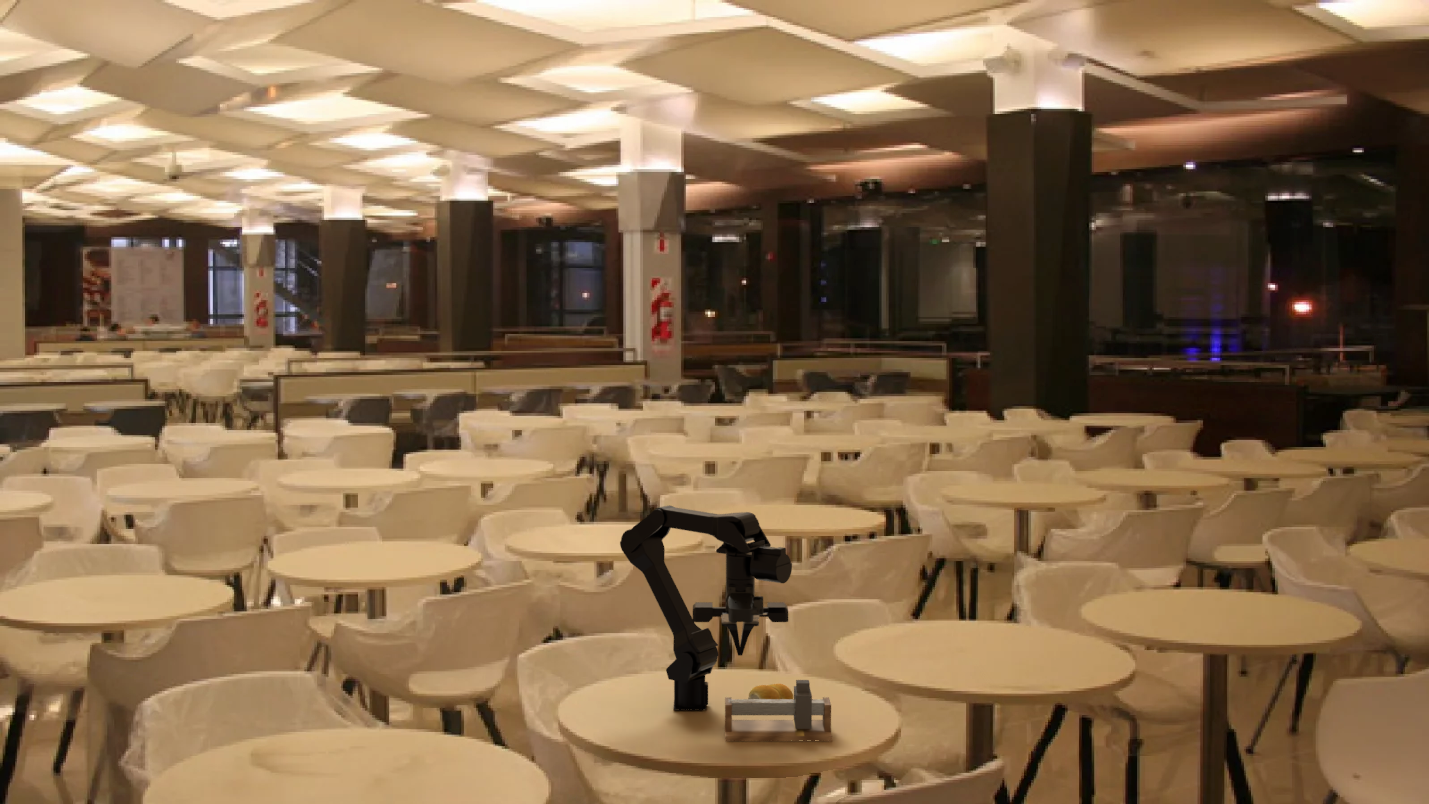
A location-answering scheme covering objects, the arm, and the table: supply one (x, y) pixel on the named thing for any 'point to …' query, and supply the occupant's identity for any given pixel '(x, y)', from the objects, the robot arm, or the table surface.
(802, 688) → the grey stepped block
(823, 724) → the stand
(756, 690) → the bread roll
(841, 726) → the table surface
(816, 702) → the brushed metal beam
